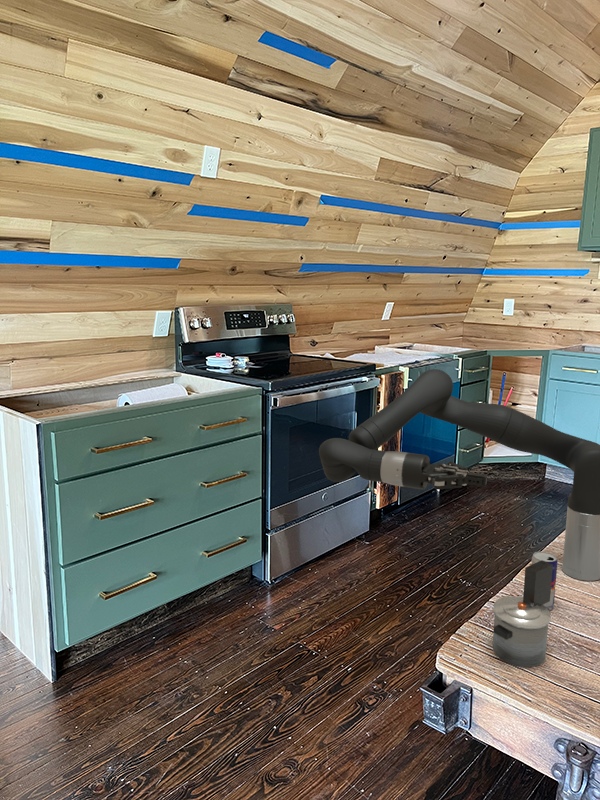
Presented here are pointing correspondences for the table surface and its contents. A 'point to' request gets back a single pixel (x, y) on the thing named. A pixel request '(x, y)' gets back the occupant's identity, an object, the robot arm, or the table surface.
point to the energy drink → (552, 560)
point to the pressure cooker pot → (519, 644)
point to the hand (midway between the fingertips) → (486, 480)
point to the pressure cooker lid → (528, 600)
